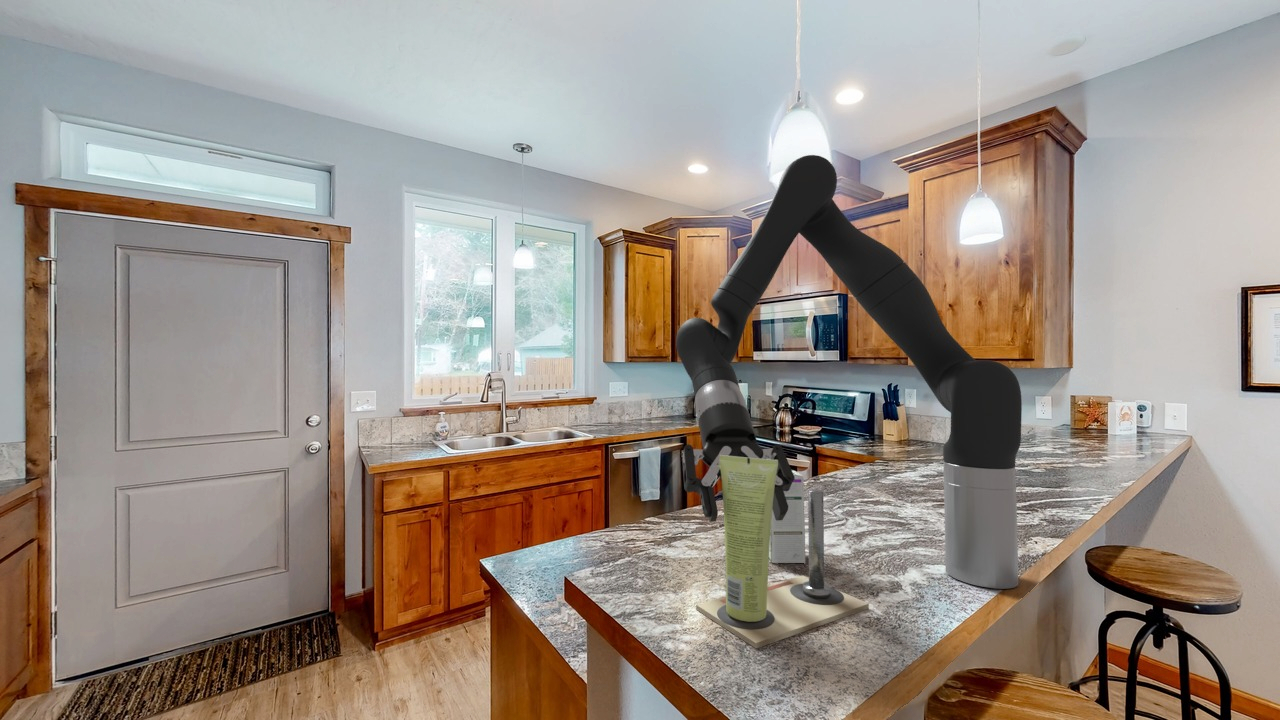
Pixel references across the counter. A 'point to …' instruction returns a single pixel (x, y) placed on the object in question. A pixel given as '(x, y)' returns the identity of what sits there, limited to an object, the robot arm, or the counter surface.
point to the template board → (784, 612)
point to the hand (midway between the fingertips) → (747, 517)
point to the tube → (747, 533)
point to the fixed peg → (816, 547)
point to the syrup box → (790, 527)
